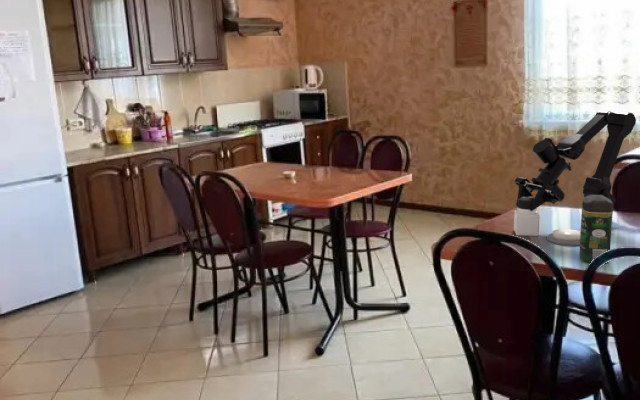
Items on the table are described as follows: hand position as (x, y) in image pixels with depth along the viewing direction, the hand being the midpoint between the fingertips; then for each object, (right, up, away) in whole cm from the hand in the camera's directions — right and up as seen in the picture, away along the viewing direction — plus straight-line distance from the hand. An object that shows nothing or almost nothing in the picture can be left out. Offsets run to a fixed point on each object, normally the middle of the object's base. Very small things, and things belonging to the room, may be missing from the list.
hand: (523, 208), depth 206 cm
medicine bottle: (+2, -8, +2) cm, 9 cm away
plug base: (+11, -10, -7) cm, 17 cm away
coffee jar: (+11, -14, -27) cm, 32 cm away
